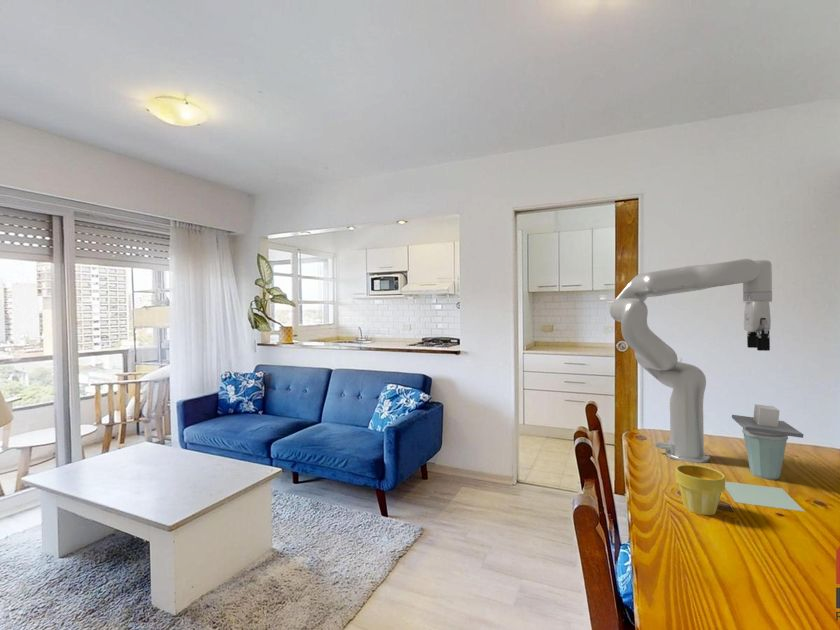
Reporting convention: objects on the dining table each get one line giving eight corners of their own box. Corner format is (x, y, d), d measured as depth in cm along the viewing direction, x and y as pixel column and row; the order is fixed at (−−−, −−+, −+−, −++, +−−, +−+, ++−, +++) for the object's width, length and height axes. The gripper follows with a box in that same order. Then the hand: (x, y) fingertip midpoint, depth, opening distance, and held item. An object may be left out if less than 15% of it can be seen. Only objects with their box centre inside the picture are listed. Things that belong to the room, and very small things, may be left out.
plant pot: (717, 503, 107) (716, 466, 107) (732, 523, 97) (732, 482, 97) (671, 498, 110) (670, 462, 110) (682, 516, 101) (681, 477, 101)
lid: (745, 429, 119) (747, 409, 119) (731, 417, 131) (733, 399, 130) (803, 437, 114) (805, 416, 113) (783, 424, 126) (785, 405, 125)
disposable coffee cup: (781, 472, 125) (780, 423, 125) (795, 487, 115) (795, 433, 115) (738, 467, 130) (737, 420, 130) (748, 481, 120) (747, 429, 120)
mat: (735, 503, 107) (735, 502, 107) (720, 482, 120) (720, 480, 120) (805, 513, 101) (804, 511, 101) (781, 489, 114) (781, 488, 114)
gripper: (736, 298, 147) (736, 346, 147) (751, 297, 131) (752, 351, 131) (762, 297, 144) (763, 346, 144) (781, 296, 128) (782, 351, 128)
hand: (758, 349), depth 138 cm, fingers open, 9 cm apart
